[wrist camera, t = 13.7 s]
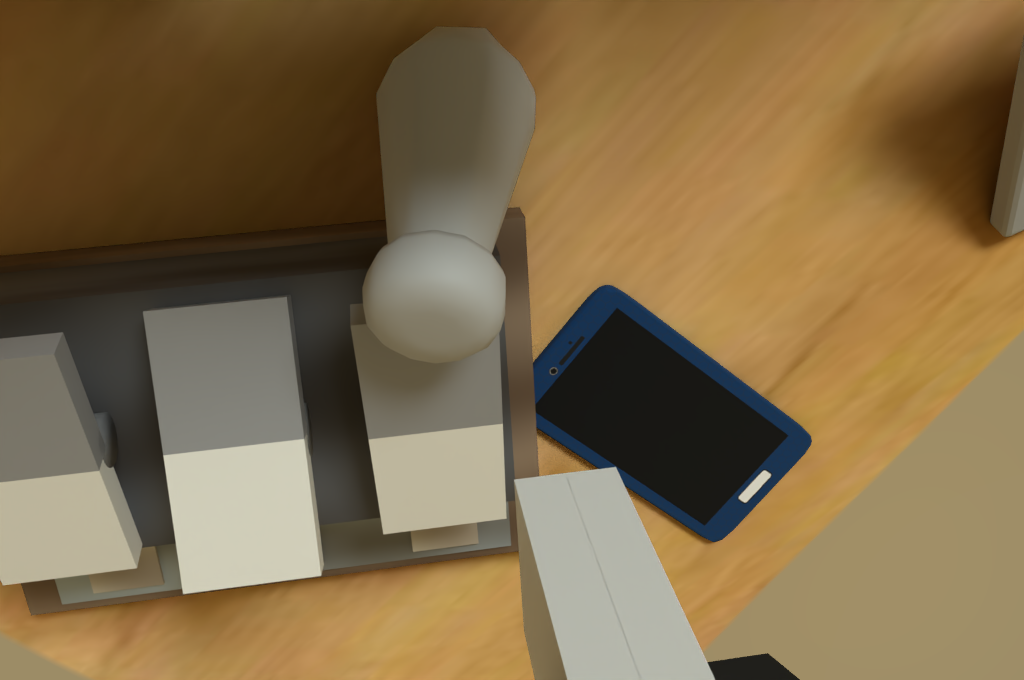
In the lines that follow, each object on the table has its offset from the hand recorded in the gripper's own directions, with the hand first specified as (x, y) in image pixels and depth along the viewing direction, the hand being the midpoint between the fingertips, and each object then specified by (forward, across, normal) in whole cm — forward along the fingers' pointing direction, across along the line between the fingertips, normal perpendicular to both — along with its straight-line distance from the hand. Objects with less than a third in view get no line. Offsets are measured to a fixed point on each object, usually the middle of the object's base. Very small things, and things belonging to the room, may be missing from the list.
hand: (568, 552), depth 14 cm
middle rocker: (+21, -9, -8) cm, 24 cm away
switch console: (+26, -8, -10) cm, 29 cm away
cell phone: (+27, +9, -13) cm, 31 cm away
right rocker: (+21, -2, -7) cm, 22 cm away
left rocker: (+21, -16, -7) cm, 27 cm away
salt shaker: (+26, +1, +4) cm, 26 cm away
